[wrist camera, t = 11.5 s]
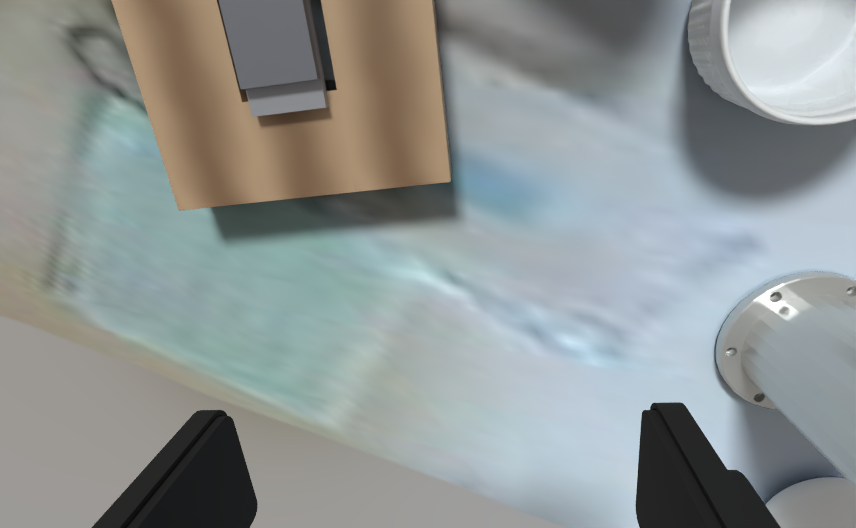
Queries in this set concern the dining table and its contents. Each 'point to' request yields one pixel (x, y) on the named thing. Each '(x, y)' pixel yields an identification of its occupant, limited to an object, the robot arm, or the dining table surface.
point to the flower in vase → (815, 504)
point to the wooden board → (301, 130)
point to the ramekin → (779, 56)
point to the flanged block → (279, 53)
